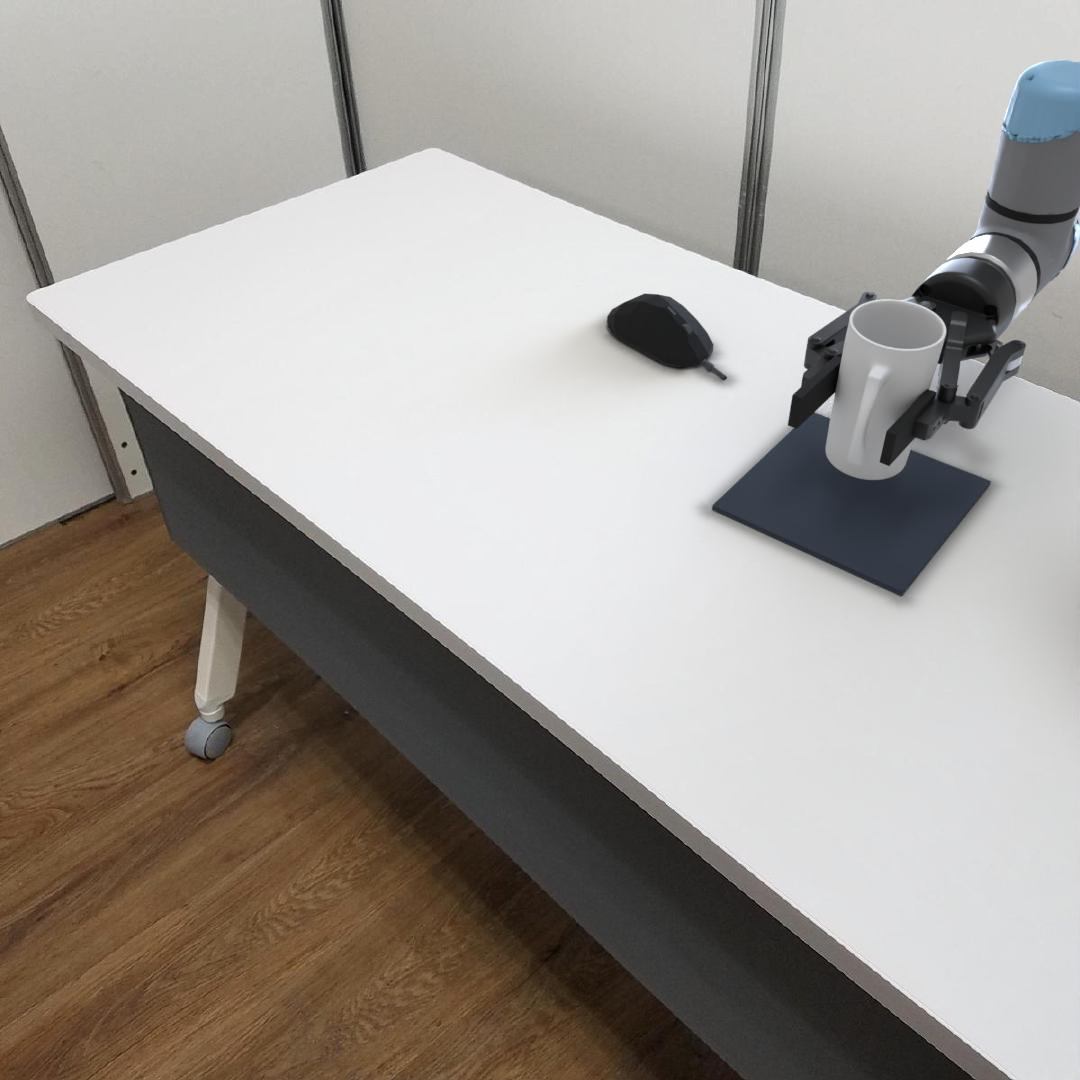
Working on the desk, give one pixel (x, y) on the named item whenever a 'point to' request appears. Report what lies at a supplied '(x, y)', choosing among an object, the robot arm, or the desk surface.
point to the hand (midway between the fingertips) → (840, 429)
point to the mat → (853, 507)
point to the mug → (880, 382)
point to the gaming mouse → (662, 331)
